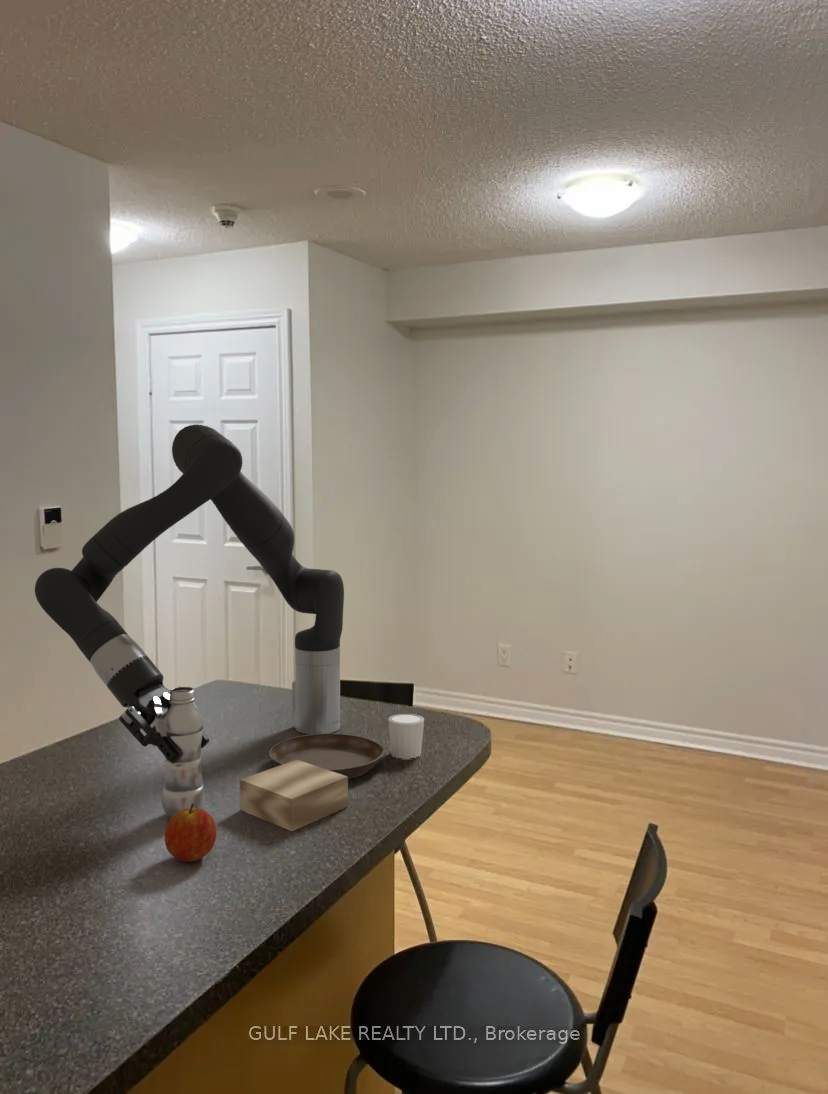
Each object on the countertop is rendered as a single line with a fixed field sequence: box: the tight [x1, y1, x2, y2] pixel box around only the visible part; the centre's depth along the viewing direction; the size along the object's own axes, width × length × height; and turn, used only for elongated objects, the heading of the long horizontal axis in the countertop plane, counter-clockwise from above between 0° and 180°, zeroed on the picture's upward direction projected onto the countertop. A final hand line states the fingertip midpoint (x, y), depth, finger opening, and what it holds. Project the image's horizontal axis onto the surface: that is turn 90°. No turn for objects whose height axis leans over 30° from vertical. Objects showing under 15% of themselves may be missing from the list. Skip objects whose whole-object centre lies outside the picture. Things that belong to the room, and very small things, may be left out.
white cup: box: [387, 713, 425, 760], centre depth 160 cm, size 7×7×7 cm
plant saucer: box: [268, 733, 385, 780], centre depth 154 cm, size 21×21×3 cm
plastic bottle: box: [161, 686, 206, 819], centre depth 130 cm, size 6×7×20 cm
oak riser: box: [239, 760, 349, 832], centre depth 134 cm, size 12×12×5 cm
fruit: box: [164, 803, 218, 864], centre depth 117 cm, size 7×7×8 cm
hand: (191, 752), depth 130 cm, fingers closed on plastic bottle, 6 cm apart
